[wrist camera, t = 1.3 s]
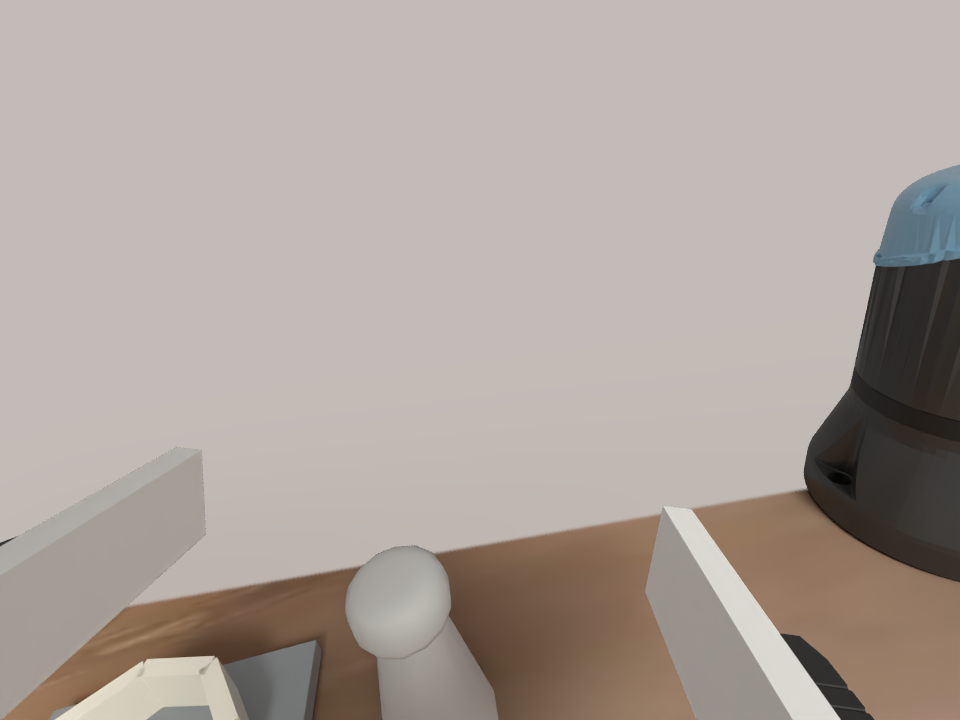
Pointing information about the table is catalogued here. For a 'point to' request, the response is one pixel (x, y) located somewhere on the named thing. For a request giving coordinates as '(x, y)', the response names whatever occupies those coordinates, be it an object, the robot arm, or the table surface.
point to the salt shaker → (416, 639)
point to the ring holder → (164, 691)
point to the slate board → (263, 686)
